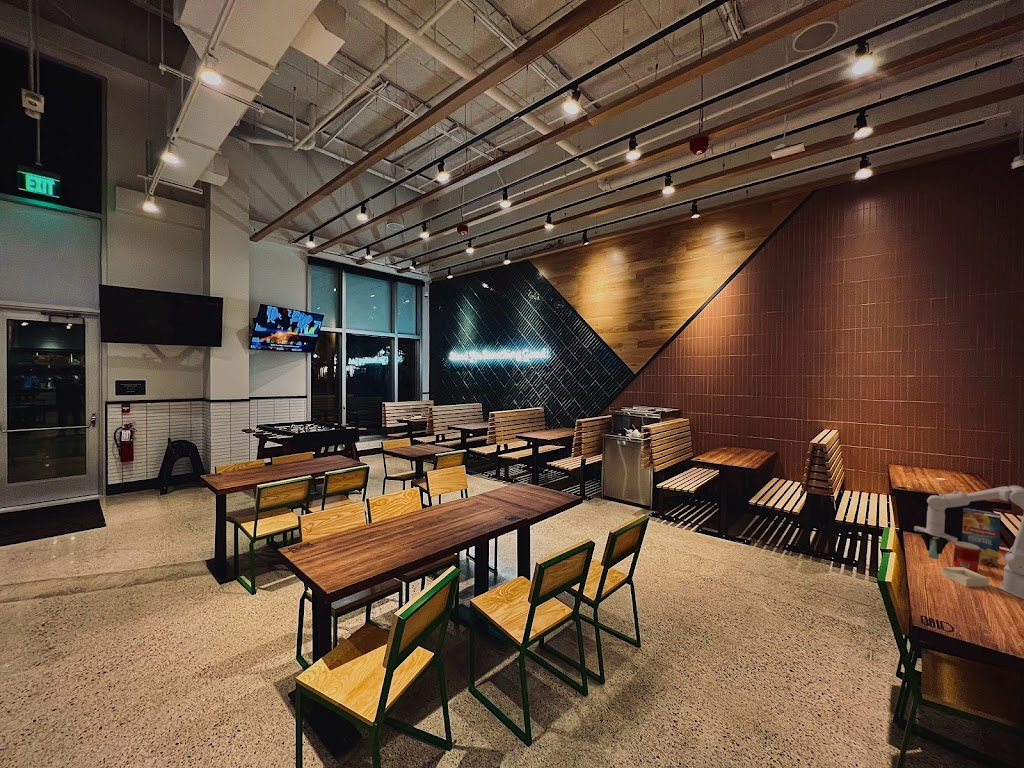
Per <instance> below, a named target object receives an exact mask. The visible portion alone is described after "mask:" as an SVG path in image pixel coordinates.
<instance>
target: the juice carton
mask: <svg viewBox="0 0 1024 768" xmlns="http://www.w3.org/2000/svg"><path fill="white" fill-rule="evenodd" d="M1001 519H1002V517H1001V514H1000V513H997V512H990V511H985V510H979V509H974V508H972V509H971V508H967V507H963V510H962V529H961V530H962V534H961V542H967V543H971V544H974V545H976V546H978V547H980V555H979V563H978V565H981V566H982V565H983V566H985V567H986V566H987V567H990V568H995V569H998V568H999V567H998V565H999V553H1000V551H999V550H1000V534H1001Z"/></svg>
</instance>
